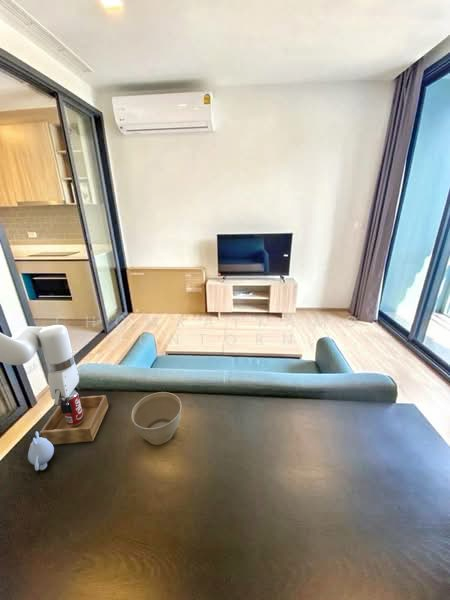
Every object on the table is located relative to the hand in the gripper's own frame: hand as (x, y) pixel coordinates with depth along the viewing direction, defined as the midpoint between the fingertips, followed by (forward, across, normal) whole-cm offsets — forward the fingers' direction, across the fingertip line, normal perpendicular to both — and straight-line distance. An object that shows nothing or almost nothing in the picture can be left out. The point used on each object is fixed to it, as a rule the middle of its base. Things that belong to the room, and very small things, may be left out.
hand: (71, 405), depth 87 cm
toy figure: (+9, +15, -3) cm, 17 cm away
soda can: (+7, 0, 0) cm, 7 cm away
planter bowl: (+8, +7, +31) cm, 33 cm away
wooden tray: (+9, 0, +1) cm, 9 cm away
